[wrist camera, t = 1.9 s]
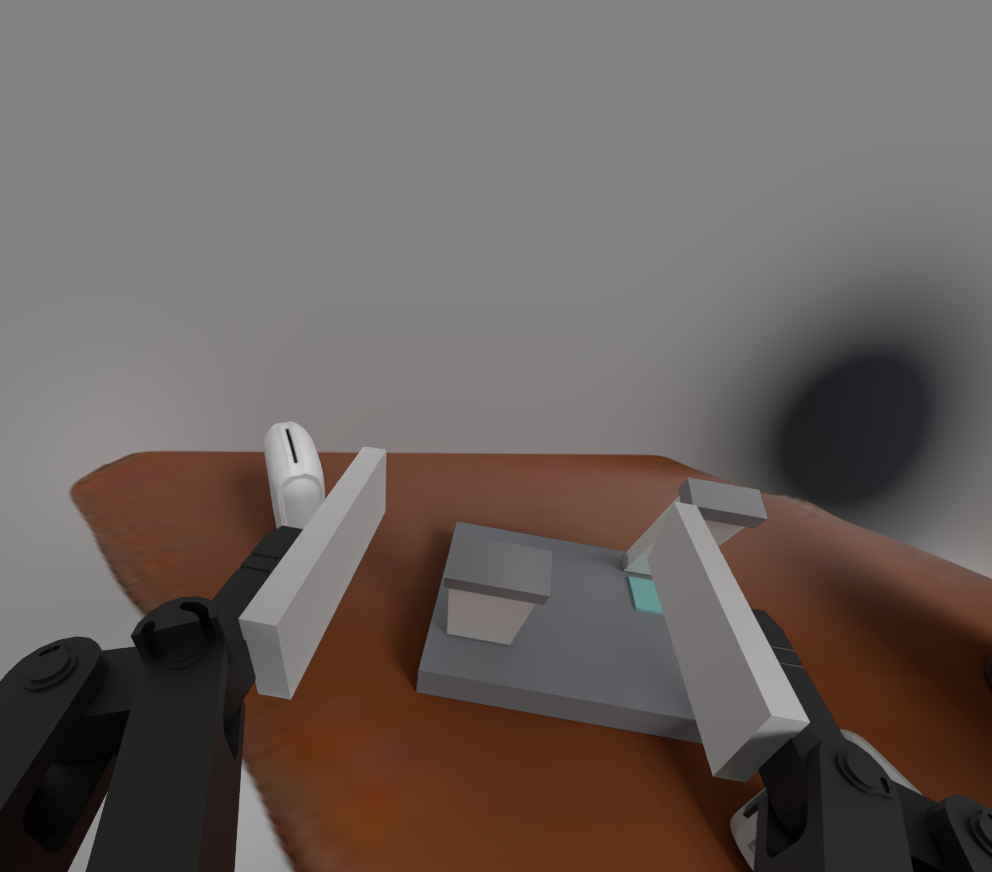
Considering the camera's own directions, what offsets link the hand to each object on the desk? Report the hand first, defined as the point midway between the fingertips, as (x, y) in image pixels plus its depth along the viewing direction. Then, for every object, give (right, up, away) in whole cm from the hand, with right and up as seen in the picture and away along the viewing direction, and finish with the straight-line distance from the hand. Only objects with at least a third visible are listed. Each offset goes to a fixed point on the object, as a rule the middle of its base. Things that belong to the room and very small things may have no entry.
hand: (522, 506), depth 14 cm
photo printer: (-21, -8, +28) cm, 36 cm away
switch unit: (+5, -15, +24) cm, 29 cm away
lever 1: (-2, -13, +19) cm, 23 cm away
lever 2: (+14, -11, +27) cm, 33 cm away
